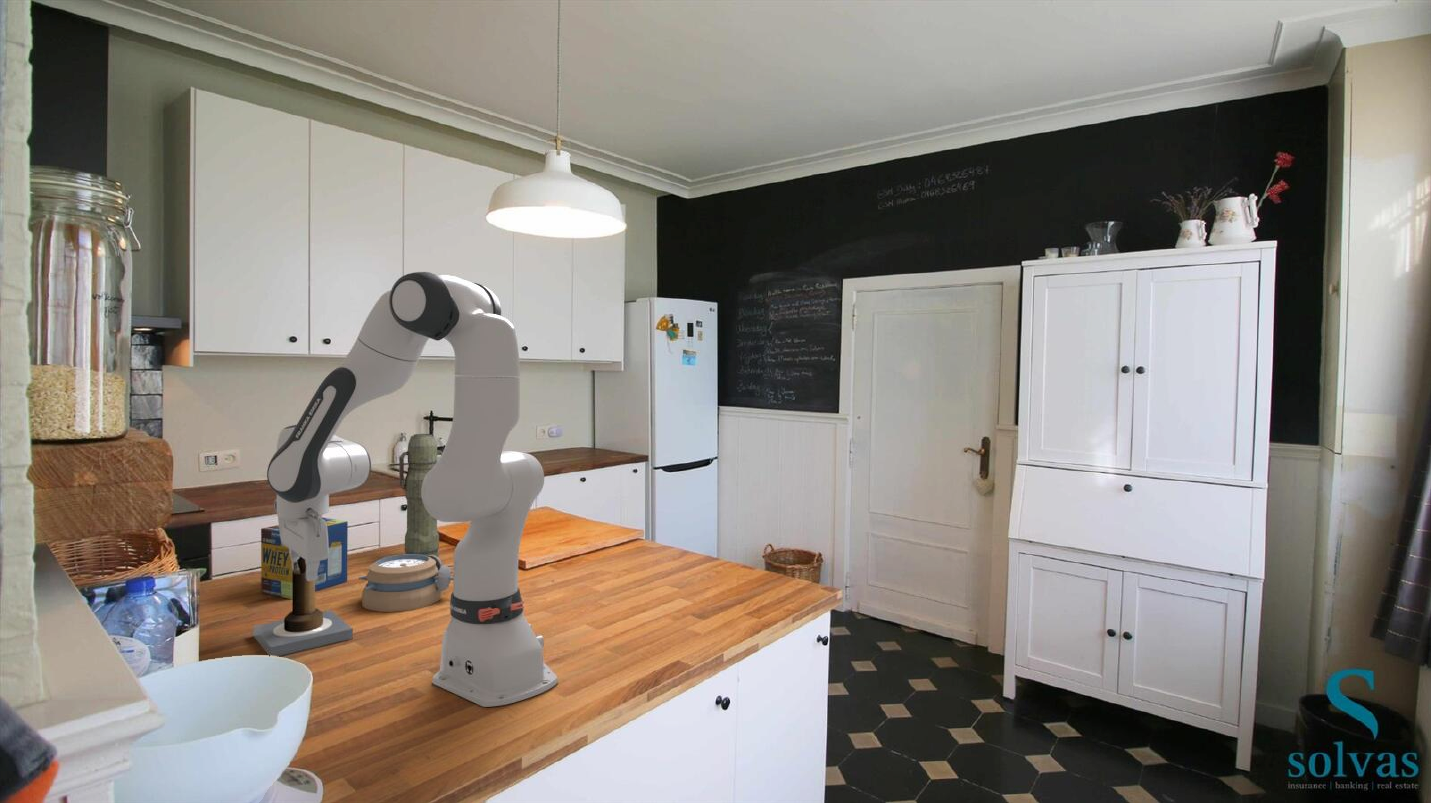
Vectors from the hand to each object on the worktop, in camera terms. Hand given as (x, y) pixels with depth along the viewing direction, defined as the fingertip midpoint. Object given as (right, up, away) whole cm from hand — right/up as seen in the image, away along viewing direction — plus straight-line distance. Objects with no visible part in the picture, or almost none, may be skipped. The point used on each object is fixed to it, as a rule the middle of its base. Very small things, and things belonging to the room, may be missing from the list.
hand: (304, 574), depth 137 cm
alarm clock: (+11, -12, +26) cm, 31 cm away
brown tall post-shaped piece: (0, -11, +1) cm, 11 cm away
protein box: (-18, -11, +31) cm, 38 cm away
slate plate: (-1, -13, +1) cm, 13 cm away
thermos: (-2, -10, +59) cm, 59 cm away
